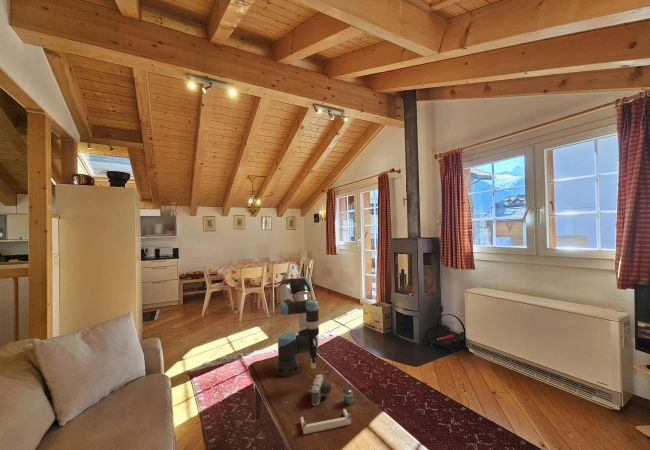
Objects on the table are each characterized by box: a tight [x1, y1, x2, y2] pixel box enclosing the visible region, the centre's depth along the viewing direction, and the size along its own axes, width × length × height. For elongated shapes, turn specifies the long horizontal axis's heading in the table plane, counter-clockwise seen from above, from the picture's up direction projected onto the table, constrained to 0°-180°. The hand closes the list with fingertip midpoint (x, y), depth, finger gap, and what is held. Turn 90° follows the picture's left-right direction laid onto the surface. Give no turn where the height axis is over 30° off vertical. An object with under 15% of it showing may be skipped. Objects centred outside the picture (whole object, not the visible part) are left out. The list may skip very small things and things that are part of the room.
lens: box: [342, 387, 354, 407], centre depth 147 cm, size 5×5×7 cm
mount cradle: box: [300, 408, 352, 435], centre depth 132 cm, size 8×22×4 cm, turn 104°
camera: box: [310, 373, 332, 406], centre depth 153 cm, size 9×16×10 cm, turn 169°
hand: (313, 367), depth 165 cm, fingers closed
